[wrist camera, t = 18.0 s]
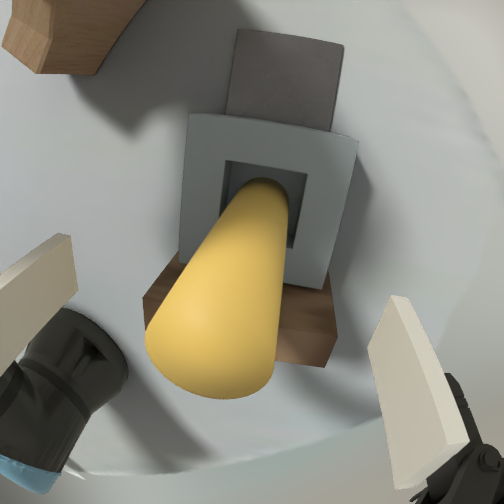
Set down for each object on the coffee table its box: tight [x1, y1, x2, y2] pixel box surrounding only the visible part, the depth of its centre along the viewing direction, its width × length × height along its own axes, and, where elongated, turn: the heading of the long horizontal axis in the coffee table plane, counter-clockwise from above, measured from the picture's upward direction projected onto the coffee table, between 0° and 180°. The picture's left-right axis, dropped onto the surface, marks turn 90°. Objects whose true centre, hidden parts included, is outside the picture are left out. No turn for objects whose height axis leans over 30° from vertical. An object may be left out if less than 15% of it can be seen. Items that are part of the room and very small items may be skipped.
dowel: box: [145, 177, 289, 399], centre depth 16 cm, size 4×4×16 cm
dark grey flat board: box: [226, 29, 343, 132], centre depth 23 cm, size 8×19×1 cm, turn 172°
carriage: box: [179, 113, 359, 290], centre depth 22 cm, size 11×11×4 cm
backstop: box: [143, 251, 338, 368], centre depth 24 cm, size 13×3×9 cm, turn 82°
